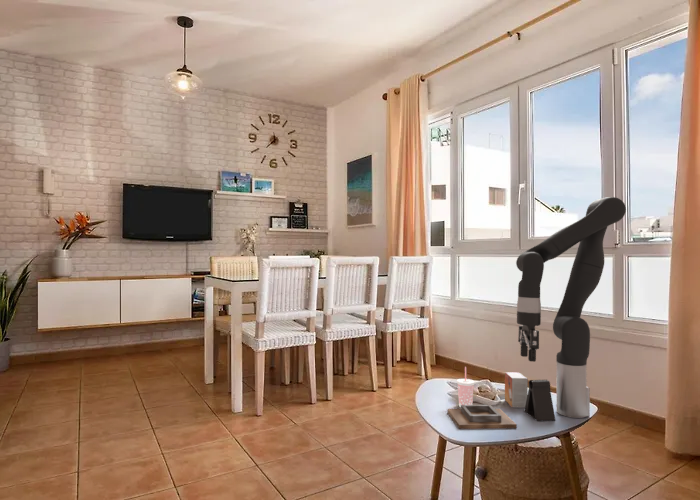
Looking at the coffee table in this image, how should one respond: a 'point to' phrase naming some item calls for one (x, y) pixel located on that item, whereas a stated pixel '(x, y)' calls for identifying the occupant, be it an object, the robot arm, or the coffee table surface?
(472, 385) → the beverage cup
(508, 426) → the walnut socket plate
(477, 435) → the coffee table surface
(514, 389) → the small box
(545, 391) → the black tent sign
